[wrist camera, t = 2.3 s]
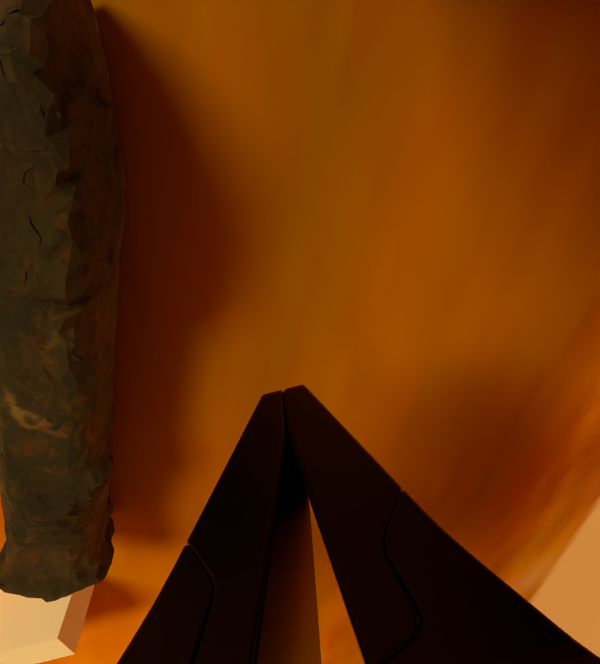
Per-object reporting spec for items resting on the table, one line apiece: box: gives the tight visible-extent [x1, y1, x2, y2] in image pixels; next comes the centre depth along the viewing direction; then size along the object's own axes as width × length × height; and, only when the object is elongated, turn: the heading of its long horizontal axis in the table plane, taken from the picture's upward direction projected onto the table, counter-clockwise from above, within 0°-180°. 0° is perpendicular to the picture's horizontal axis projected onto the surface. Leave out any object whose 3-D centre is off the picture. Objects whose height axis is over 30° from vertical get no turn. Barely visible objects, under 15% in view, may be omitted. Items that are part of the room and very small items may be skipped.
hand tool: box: [0, 0, 126, 602], centre depth 12 cm, size 19×4×5 cm, turn 163°
